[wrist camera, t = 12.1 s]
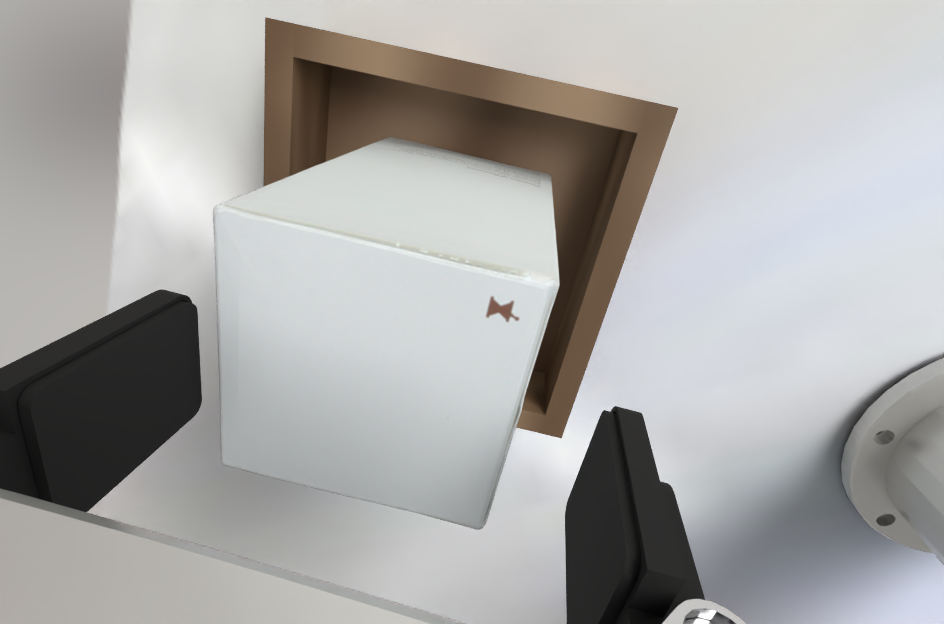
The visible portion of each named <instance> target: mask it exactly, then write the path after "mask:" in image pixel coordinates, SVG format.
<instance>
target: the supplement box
mask: <svg viewBox="0 0 944 624" xmlns="http://www.w3.org/2000/svg"><path fill="white" fill-rule="evenodd" d="M551 178H552V176H551V175H550V174H546V173H542V172H537V171H533V170H529V169H525V168H521V167H516V166H512V165H507V164H503V163H499V162H495V161H491V160H487V159H482V158H478V157H474V156H470V155H466V154H462V153H458V152H454V151H449V150H445V149H441V148H437V147H433V146H429V145H425V144H420V143H416V142H412V141H408V140H403V139H398V138H394V137H387V138H384V139H383V140H380V141H378V142H375V143H372V144H370V145H367V146H365V147H362V148H359V149H357V150H355V151H352V152H350V153H347V154H345V155H342V156H339V157H337V158H335V159H332V160H329V161H327V162H324V163H322V164H319V165H316V166H314V167H311V168H309V169H306V170H304V171H301V172H299V173H297V174H294V175H292V176H289V177H286V178H284V179H282V180H279V181H277V182H274V183H272V184H269V185H266V186H264V187H261V188H259V189H257V190H254V191H252V192H249V193H247V194H244V195H241V196H238V197H236V198H233V199H231V200H229V201H226V202H224V203H221V204H219V205H216V206H215V207H214V210H213V222H214V242H215V268H216V298H217V329H218V359H219V390H220V431H221V461H222V463H223V464H224V465H226V466H230V467H234V468H238V469H241V470H245V471H249V472H253V473H256V474H260V475H264V476H268V477H272V478H276V479H280V480H284V481H288V482H292V483H297V484H301V485H304V486H308V487H312V488H316V489H320V490H324V491H328V492H332V493H336V494H340V495H344V496H348V497H352V498H356V499H360V500H365V501H369V502H373V503H377V504H382V505H386V506H390V507H394V508H398V509H402V510H406V511H411V512H415V513H419V514H422V515H426V516H430V517H433V518H437V519H440V520H444V521H448V522H452V523H455V524H459V525H463V526H466V527H470V528H473V529H477V530H478V529H481V528H483V526H484V525H485V524H486V521H487V518H488V515H489V512H490V509H491V506H492V502H493V499H494V496H495V492H496V489H497V486H498V482H499V479H500V476H501V473H502V469H503V466H504V463H505V460H506V456H507V453H508V450H509V447H510V444H511V440H512V437H513V434H514V431H515V428H516V425H517V423H518V420H519V417H520V414H521V411H522V407H523V402H524V397H525V394H526V390H527V387H528V384H529V381H530V377H531V374H532V371H533V368H534V364H535V361H536V358H537V355H538V352H539V348H540V345H541V342H542V339H543V336H544V333H545V329H546V326H547V323H548V319H549V316H550V313H551V310H552V307H553V304H554V301H555V298H556V295H557V292H558V289H559V286H560V284H559V269H558V256H557V244H556V231H555V219H554V207H553V196H552V182H551Z"/></svg>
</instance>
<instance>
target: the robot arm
mask: <svg viewBox="0 0 944 624" xmlns="http://www.w3.org/2000/svg"><path fill="white" fill-rule="evenodd" d="M201 402H202V395H201V374H200V354H199V334H198V314H197V308H196V306H195V305H194V304H192V301H191V299H190V298H189V297H188V296H186V295H182V294H178V293H174V292H170V291H167V290H158V291H155V292H153V293H151V294H149V295H147V296H145V297H143V298H141V299H139V300H137V301H135V302H133V303H131V304H129V305H127V306H125V307H123V308H121V309H119V310H117V311H115V312H113V313H111V314H109V315H107V316H105V317H103V318H101V319H99V320H97V321H95V322H93V323H91V324H89V325H87V326H85V327H83V328H81V329H79V330H77V331H75V332H73V333H71V334H69V335H67V336H65V337H63V338H61V339H59V340H57V341H55V342H53V343H51V344H49V345H47V346H45V347H43V348H41V349H39V350H37V351H35V352H33V353H31V354H28V355H26V356H24V357H22V358H20V359H19V360H16V361H14V362H12V363H10V364H8V365H6V366H4V367H2V368H0V624H465V623H462V622H459V621H456V620H452V619H449V618H446V617H443V616H440V615H436V614H433V613H430V612H426V611H423V610H419V609H416V608H413V607H409V606H406V605H403V604H399V603H396V602H392V601H389V600H386V599H382V598H379V597H376V596H372V595H369V594H365V593H362V592H359V591H355V590H352V589H349V588H345V587H342V586H338V585H335V584H332V583H328V582H325V581H322V580H318V579H315V578H312V577H308V576H305V575H301V574H298V573H294V572H291V571H288V570H284V569H281V568H277V567H274V566H270V565H267V564H264V563H260V562H257V561H253V560H250V559H246V558H243V557H240V556H236V555H233V554H229V553H226V552H222V551H219V550H215V549H212V548H208V547H205V546H202V545H198V544H195V543H191V542H188V541H184V540H181V539H177V538H174V537H170V536H167V535H164V534H160V533H157V532H153V531H150V530H146V529H143V528H139V527H136V526H132V525H129V524H125V523H121V522H118V521H114V520H111V519H107V518H104V517H100V516H97V515H93V514H90V513H86V512H87V511H89V510H90V509H91V508H92V507H93V506H94V505H95V504H96V503H97V502H99V501H100V500H101V499H102V498H103V497H104V496H105V495H106V494H108V493H109V492H110V491H111V490H112V489H113V488H114V487H115V486H117V485H118V484H119V483H120V482H121V481H122V480H123V479H124V478H126V477H127V476H128V475H129V474H130V473H131V472H132V471H133V470H134V469H136V468H137V467H138V466H139V465H140V464H141V463H142V462H143V461H145V460H146V459H147V458H148V457H149V456H150V455H151V454H152V453H154V452H155V451H156V450H157V449H158V448H159V447H160V446H161V445H162V444H164V443H165V442H166V441H167V440H168V439H169V438H170V437H171V436H173V435H174V434H175V433H176V432H177V431H178V430H179V429H180V428H182V427H183V426H184V425H185V424H186V423H187V422H188V421H189V420H190V419H192V418H193V417H194V416H195V415H196V414H197V412H198V411H199V408H200V406H201ZM841 471H842V482H843V485H844V488H845V490H846V493H847V496H848V498H849V499H850V501H851V502H852V503H853V505H854V506H855V508H856V509H857V511H858V512H859V514H860V515H861V516H862V517H863V519H864V520H865V521H866V522H867V523H868V524H869V525H870V526H871V527H872V528H873V529H874V530H876V531H877V532H879V533H880V534H882V535H883V536H885V537H886V538H888V539H889V540H892V541H894V542H896V543H899V544H901V545H904V546H906V547H908V548H912V549H916V550H920V551H924V552H929V553H934V554H935V555H936V557H937V558H938V559H939V560H940V561H941V563H942V564H943V565H944V358H942V359H939V360H937V361H935V362H933V363H931V364H929V365H927V366H925V367H923V368H921V369H919V370H917V371H915V372H913V373H911V374H910V375H908V376H907V377H905V378H904V379H902V380H901V381H900V382H898V383H897V384H895V385H894V386H892V387H891V388H890V389H888V390H887V391H886V392H885V393H884V394H882V395H881V396H880V397H879V398H878V399H877V400H876V401H875V402H874V403H873V404H872V405H871V406H870V407H869V408H868V409H867V410H866V411H865V413H864V414H863V415H862V417H861V418H860V419H859V421H858V422H857V423H856V425H855V426H854V428H853V430H852V432H851V434H850V436H849V438H848V440H847V442H846V444H845V448H844V452H843V457H842V462H841ZM565 539H566V601H567V624H746V623H745V622H744V621H743V620H742V619H741V618H739V617H738V616H736V615H735V614H734V613H732V612H731V611H730V610H728V609H727V608H725V607H723V606H720V605H718V604H716V603H714V602H712V601H707V600H705V598H704V595H703V591H702V588H701V584H700V581H699V577H698V574H697V570H696V567H695V563H694V560H693V557H692V553H691V550H690V546H689V543H688V539H687V536H686V532H685V529H684V525H683V522H682V518H681V515H680V511H679V508H678V505H677V501H676V498H675V494H674V491H673V489H672V487H671V486H670V485H669V484H668V483H664V482H660V480H659V476H658V472H657V468H656V464H655V460H654V457H653V453H652V449H651V445H650V441H649V437H648V434H647V430H646V426H645V422H644V418H643V415H642V413H640V412H636V411H632V410H628V409H624V408H620V407H616V406H615V407H613V409H612V410H611V412H609V411H605V410H604V411H603V412H602V414H601V416H600V418H599V421H598V424H597V426H596V429H595V431H594V434H593V437H592V439H591V442H590V444H589V447H588V450H587V452H586V455H585V457H584V460H583V462H582V465H581V468H580V470H579V473H578V475H577V478H576V481H575V483H574V486H573V488H572V491H571V494H570V496H569V499H568V502H567V506H566V512H565Z"/></svg>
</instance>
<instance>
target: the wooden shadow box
mask: <svg viewBox="0 0 944 624" xmlns="http://www.w3.org/2000/svg"><path fill="white" fill-rule="evenodd" d="M677 110H678V108H676V107H671V106H667V105H662V104H657V103H653V102H648V101H644V100H639V99H635V98H630V97H626V96H621V95H616V94H612V93H607V92H603V91H598V90H594V89H589V88H585V87H580V86H575V85H571V84H566V83H562V82H557V81H553V80H548V79H544V78H539V77H534V76H530V75H525V74H521V73H516V72H512V71H507V70H503V69H498V68H493V67H489V66H484V65H480V64H475V63H471V62H466V61H462V60H457V59H452V58H448V57H443V56H439V55H434V54H430V53H425V52H421V51H416V50H412V49H407V48H402V47H398V46H393V45H389V44H384V43H380V42H375V41H371V40H366V39H361V38H357V37H352V36H348V35H343V34H339V33H334V32H330V31H325V30H320V29H316V28H311V27H307V26H302V25H298V24H293V23H289V22H284V21H279V20H275V19H270V18H266V17H265V111H264V186H266V185H269V184H272V183H274V182H277V181H279V180H282V179H284V178H286V177H289V176H292V175H294V174H297V173H299V172H301V171H304V170H306V169H309V168H311V167H314V166H316V165H319V164H322V163H324V162H327V161H329V160H332V159H335V158H337V157H339V156H342V155H345V154H347V153H350V152H352V151H355V150H357V149H359V148H362V147H365V146H367V145H370V144H372V143H375V142H378V141H380V140H383V139H384V138H387V137H394V138H398V139H403V140H408V141H412V142H416V143H420V144H425V145H429V146H433V147H437V148H441V149H445V150H449V151H454V152H458V153H462V154H466V155H470V156H474V157H478V158H482V159H487V160H491V161H495V162H499V163H503V164H507V165H512V166H516V167H521V168H525V169H529V170H533V171H537V172H542V173H546V174H550V175H551V176H552V178H551V182H552V196H553V207H554V219H555V231H556V244H557V256H558V269H559V284H560V286H559V289H558V292H557V295H556V298H555V301H554V304H553V307H552V310H551V313H550V316H549V319H548V323H547V326H546V329H545V333H544V336H543V339H542V342H541V345H540V348H539V352H538V355H537V358H536V361H535V364H534V368H533V371H532V374H531V377H530V381H529V384H528V387H527V390H526V394H525V397H524V402H523V407H522V411H521V414H520V417H519V420H518V423H517V425H516V427H517V428H521V429H525V430H530V431H534V432H538V433H542V434H546V435H550V436H554V437H559V438H562V435H563V432H564V429H565V427H566V424H567V421H568V418H569V415H570V412H571V410H572V407H573V404H574V401H575V398H576V396H577V393H578V390H579V387H580V384H581V381H582V379H583V376H584V373H585V370H586V367H587V364H588V362H589V359H590V356H591V353H592V350H593V347H594V345H595V342H596V339H597V336H598V333H599V331H600V328H601V325H602V322H603V319H604V316H605V314H606V311H607V308H608V305H609V302H610V299H611V297H612V294H613V291H614V288H615V285H616V282H617V280H618V277H619V274H620V271H621V268H622V266H623V263H624V260H625V257H626V254H627V251H628V249H629V246H630V243H631V240H632V237H633V234H634V232H635V229H636V226H637V223H638V220H639V217H640V215H641V212H642V209H643V206H644V203H645V201H646V198H647V195H648V192H649V189H650V186H651V184H652V181H653V178H654V175H655V172H656V169H657V167H658V164H659V161H660V158H661V155H662V152H663V150H664V147H665V144H666V141H667V138H668V136H669V133H670V130H671V127H672V124H673V121H674V119H675V116H676V113H677Z"/></svg>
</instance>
